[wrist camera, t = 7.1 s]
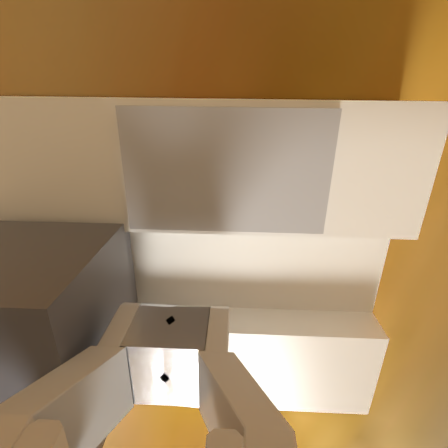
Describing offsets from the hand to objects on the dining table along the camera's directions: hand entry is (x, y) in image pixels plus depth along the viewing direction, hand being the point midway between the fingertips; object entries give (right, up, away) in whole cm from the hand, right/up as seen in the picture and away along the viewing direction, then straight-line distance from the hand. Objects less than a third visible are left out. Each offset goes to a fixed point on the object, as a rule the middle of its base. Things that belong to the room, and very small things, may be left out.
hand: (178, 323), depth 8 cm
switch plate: (-7, +2, +5) cm, 9 cm away
